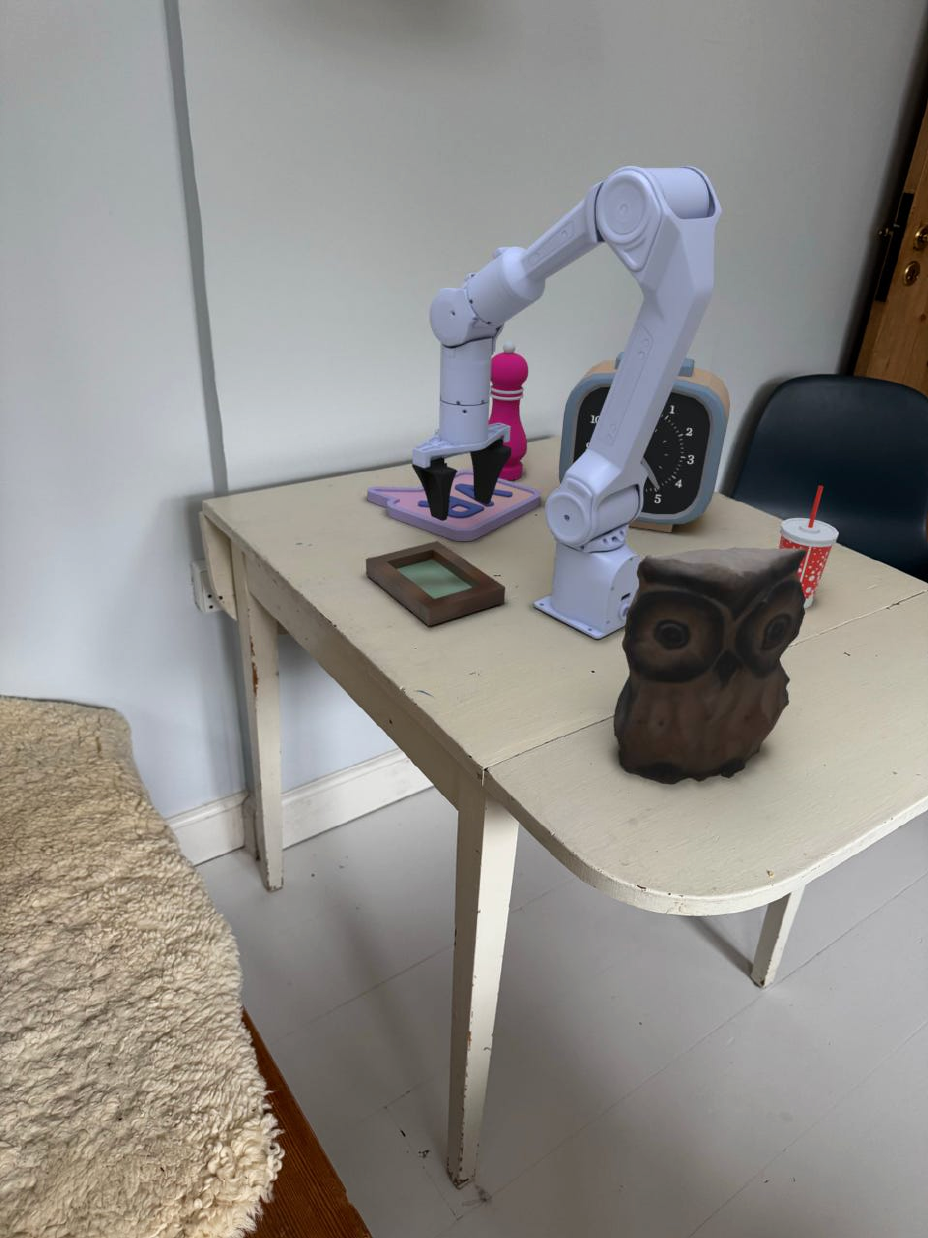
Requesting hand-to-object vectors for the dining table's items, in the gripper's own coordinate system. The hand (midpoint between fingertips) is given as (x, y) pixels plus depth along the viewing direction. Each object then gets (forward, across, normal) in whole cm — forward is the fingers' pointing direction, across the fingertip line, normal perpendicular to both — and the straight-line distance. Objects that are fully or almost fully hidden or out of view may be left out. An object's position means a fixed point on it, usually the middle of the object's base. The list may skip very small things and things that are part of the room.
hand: (461, 509), depth 103 cm
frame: (+6, +9, +5) cm, 12 cm away
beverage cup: (+6, -20, +34) cm, 40 cm away
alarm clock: (+6, -27, +8) cm, 28 cm away
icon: (+6, -11, -12) cm, 17 cm away
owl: (+6, +12, +40) cm, 42 cm away
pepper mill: (+6, -25, -15) cm, 30 cm away
